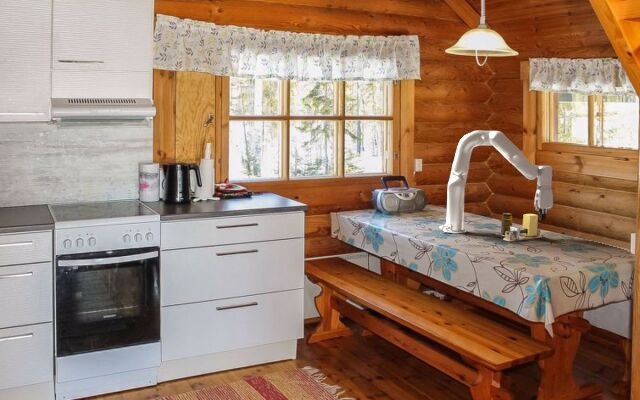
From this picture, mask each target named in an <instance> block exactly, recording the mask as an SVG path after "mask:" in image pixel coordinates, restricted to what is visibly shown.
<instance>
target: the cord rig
mask: <svg viewBox="0 0 640 400" xmlns="http://www.w3.org/2000/svg"><path fill="white" fill-rule="evenodd" d="M522 233H528V229H526V230H523V229H520V234H522ZM513 234H515V232H514V231H506V232H505V236H504V238H503V239H502V240H503V241H506V242H515V241H524V240H533V239H539V238H540V237H541V238H543V236H542V235H541V228H539V227H537V235H533V236H527V235H520V239H514V238H513Z"/></svg>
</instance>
